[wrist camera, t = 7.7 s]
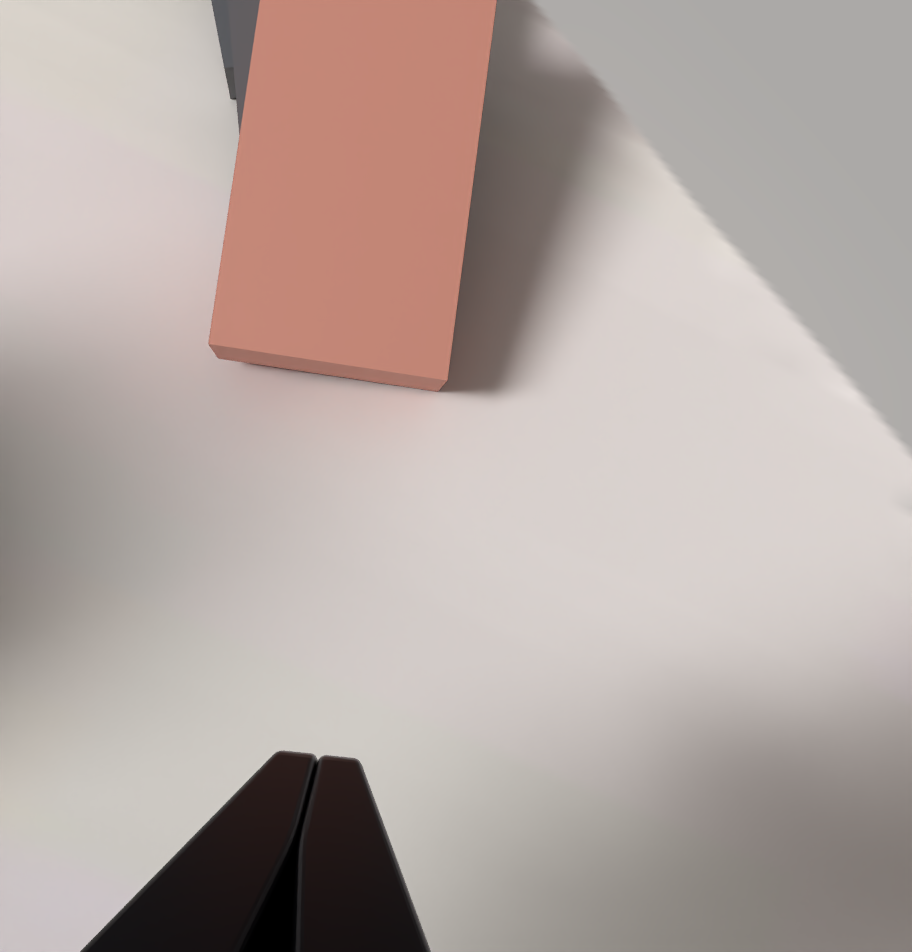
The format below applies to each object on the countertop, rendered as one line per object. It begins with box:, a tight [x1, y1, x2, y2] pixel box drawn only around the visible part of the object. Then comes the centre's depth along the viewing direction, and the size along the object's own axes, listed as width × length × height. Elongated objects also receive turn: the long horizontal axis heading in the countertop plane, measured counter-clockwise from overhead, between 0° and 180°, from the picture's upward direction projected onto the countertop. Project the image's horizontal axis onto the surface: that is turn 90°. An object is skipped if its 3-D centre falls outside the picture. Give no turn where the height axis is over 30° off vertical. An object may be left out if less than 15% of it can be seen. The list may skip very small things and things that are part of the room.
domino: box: [208, 0, 497, 392], centre depth 19 cm, size 2×5×10 cm
